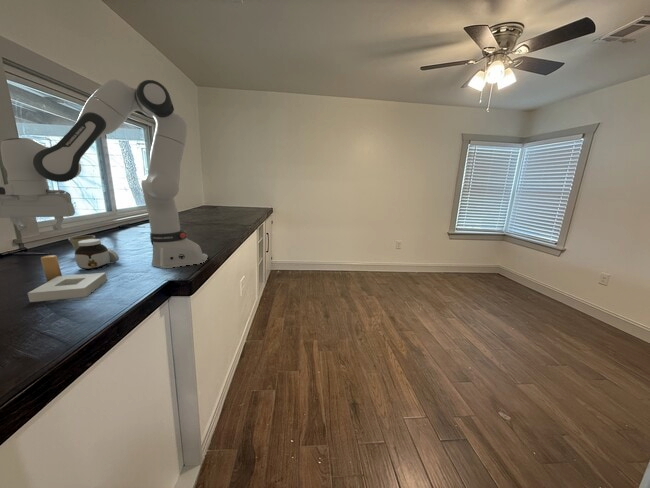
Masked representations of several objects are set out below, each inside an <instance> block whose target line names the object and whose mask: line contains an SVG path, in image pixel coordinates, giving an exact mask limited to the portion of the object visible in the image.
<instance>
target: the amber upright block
mask: <svg viewBox="0 0 650 488" xmlns="http://www.w3.org/2000/svg"><path fill="white" fill-rule="evenodd" d="M40 261H41V266H42V268H43V272H44V275H45V279H46V283H47V282H48V281H50V280H52V279H54V278H56V277H57V276H63V275H62V271H61V268H60V263H59V259H58V255H54V254H52V255H50V254H49V255H44V256H41V257H40Z"/></svg>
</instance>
